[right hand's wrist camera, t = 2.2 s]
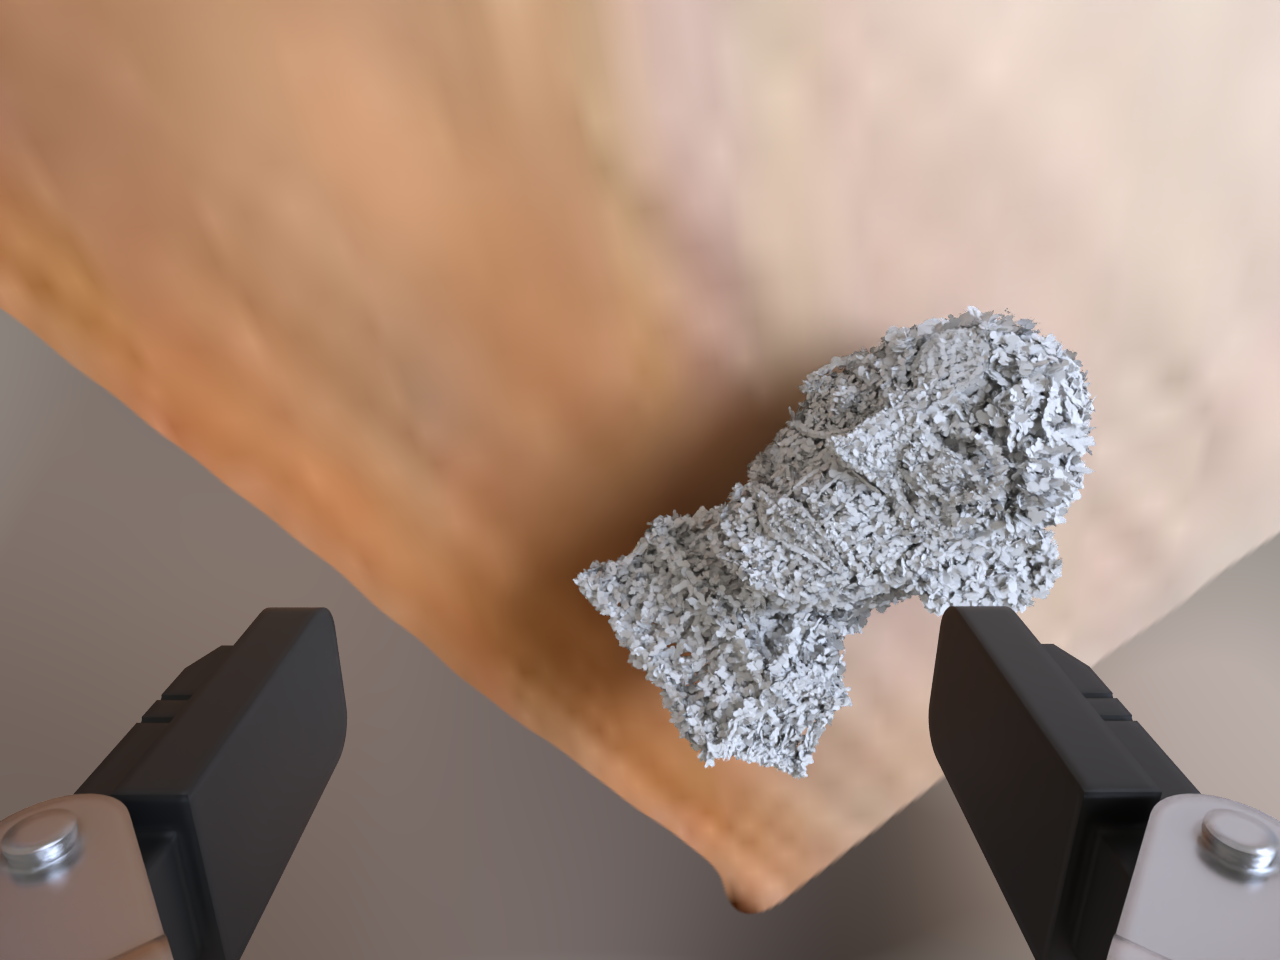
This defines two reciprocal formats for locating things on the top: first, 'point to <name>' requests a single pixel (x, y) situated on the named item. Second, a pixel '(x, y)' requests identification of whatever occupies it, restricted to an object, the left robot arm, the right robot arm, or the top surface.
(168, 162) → the top surface
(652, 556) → the rock
